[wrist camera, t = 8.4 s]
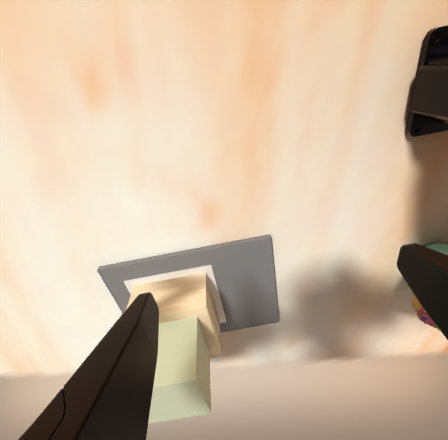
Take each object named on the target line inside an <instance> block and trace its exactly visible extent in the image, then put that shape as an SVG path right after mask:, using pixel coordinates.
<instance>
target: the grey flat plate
mask: <svg viewBox="0 0 448 440" xmlns="http://www.w3.org/2000/svg"><path fill="white" fill-rule="evenodd" d="M97 271H98V273H99V274H100V276H101V278H102V279H103V281H104V283H105V284H106V286H107V288H108V289H109V291H110V293H111V294H112V296H113V298H114V299H115V301H116V303H117V304H118V306H119V308H120V309H121V311H122V313H124V312H125V311H126V308H127V305H128V302H129V299H130V296H131V293H132V289H133V286H135V285H140V284H146V283H151V282H157V281H162V280H167V279H173V278H178V277H184V276H189V275H194V274H200V273H205V272H206V276H207V279H208V282H209V286H210V289H211V293H212V296H213V299H214V303H215V306H216V310H217V313H218V317H219V323H220V332H226V331H231V330H237V329H243V328H248V327H254V326H259V325H265V324H271V323H276V322H279V314H278V303H277V293H276V283H275V273H274V262H273V252H272V242H271V236H270V235H265V236H259V237H254V238H249V239H243V240H238V241H233V242H227V243H222V244H217V245H212V246H206V247H201V248H196V249H190V250H185V251H180V252H174V253H169V254H164V255H159V256H153V257H148V258H143V259H137V260H132V261H127V262H121V263H116V264H111V265H106V266H100V267H99V268H98V270H97Z"/></svg>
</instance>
